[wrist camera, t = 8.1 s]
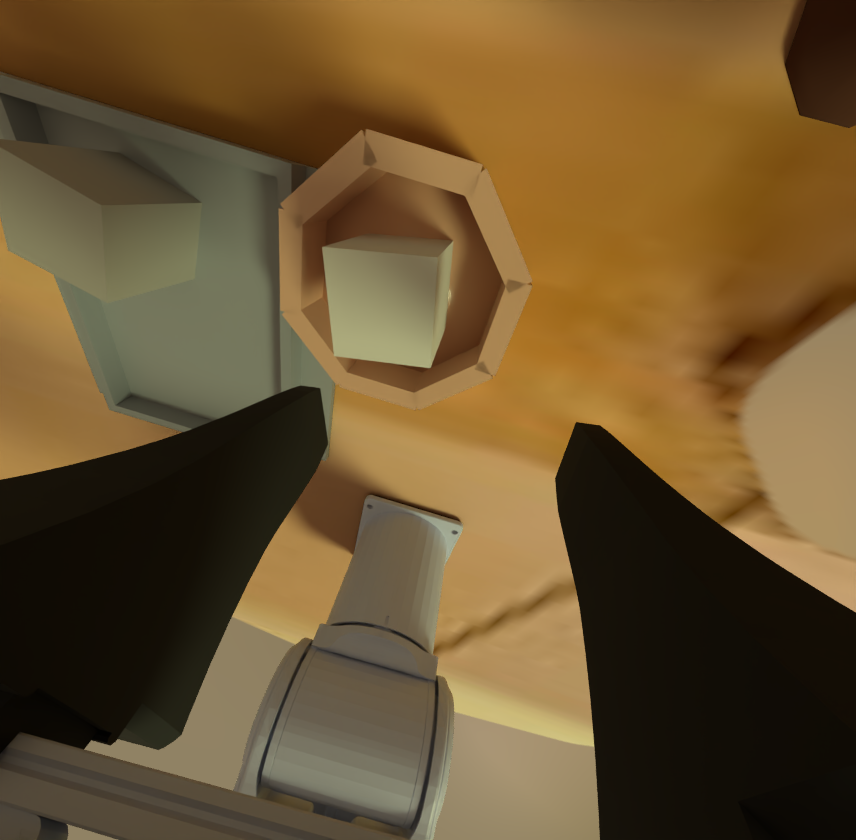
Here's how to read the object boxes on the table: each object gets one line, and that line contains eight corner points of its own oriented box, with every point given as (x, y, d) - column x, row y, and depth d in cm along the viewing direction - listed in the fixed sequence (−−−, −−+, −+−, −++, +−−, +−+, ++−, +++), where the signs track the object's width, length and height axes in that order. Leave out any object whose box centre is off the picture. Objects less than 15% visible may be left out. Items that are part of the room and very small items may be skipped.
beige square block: (194, 278, 18) (107, 303, 14) (121, 237, 18) (8, 250, 14) (201, 202, 16) (101, 205, 12) (118, 152, 15) (-18, 136, 11)
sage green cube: (445, 327, 17) (430, 368, 13) (371, 319, 18) (333, 356, 14) (453, 240, 15) (437, 257, 11) (368, 233, 15) (321, 247, 11)
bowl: (476, 399, 20) (473, 427, 18) (307, 348, 20) (281, 369, 18) (557, 192, 14) (571, 191, 11) (315, 117, 14) (277, 101, 11)
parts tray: (328, 456, 25) (317, 472, 23) (106, 389, 25) (81, 401, 23) (354, 180, 15) (339, 178, 13) (-16, 66, 15) (-72, 52, 13)
